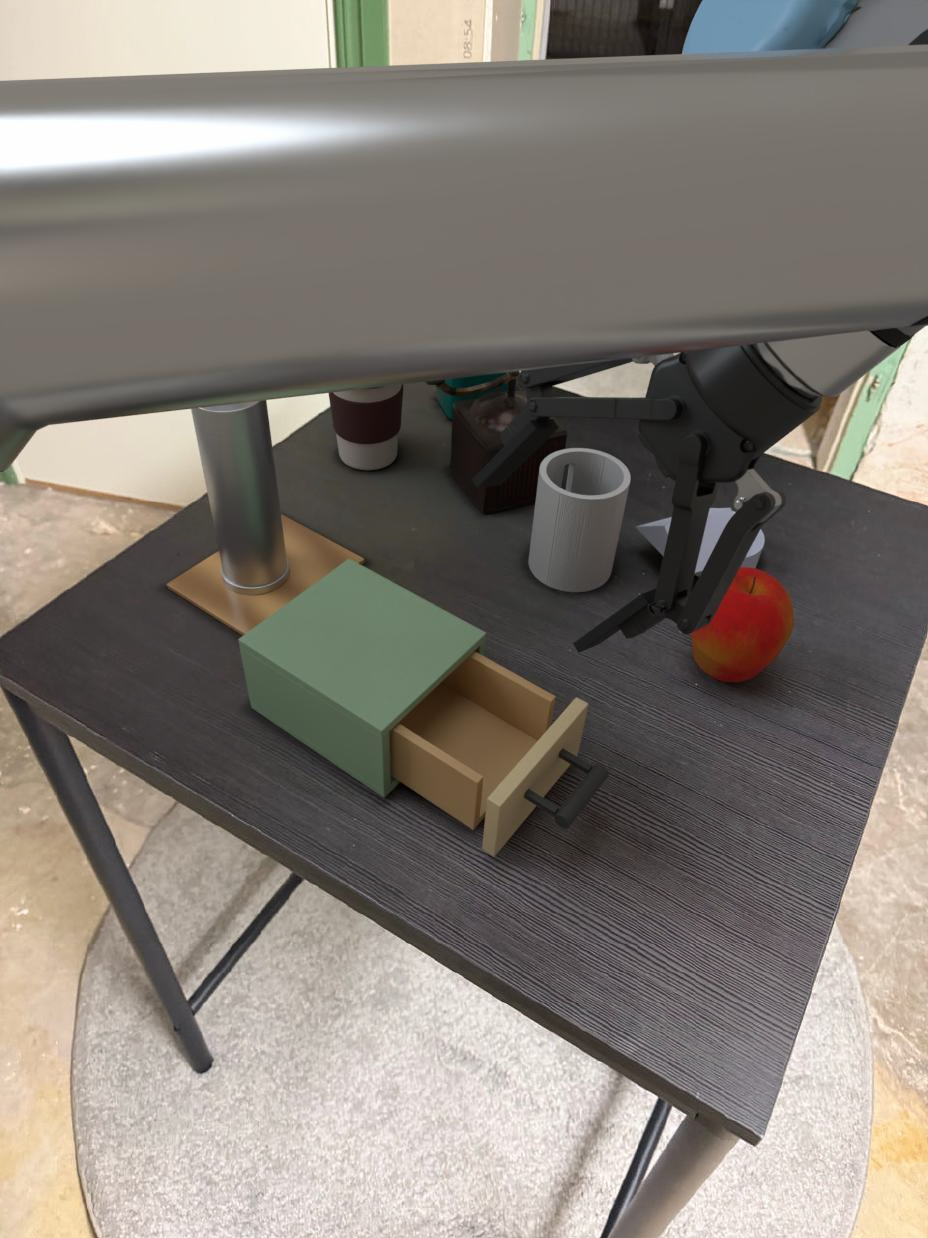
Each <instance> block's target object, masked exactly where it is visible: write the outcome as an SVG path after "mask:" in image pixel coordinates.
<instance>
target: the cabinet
mask: <svg viewBox="0 0 928 1238" xmlns="http://www.w3.org/2000/svg"><path fill="white" fill-rule="evenodd" d="M486 640H487V632H486V631H483V629H480V628H478V627H476V626H474V625H473V624H471V623H469V622H467V621H465V620H464V619H461V618H460V617H458V616H456V615H455V614H452V613H451V612H449V611H446V610H445V609H443V608H441V607H439V606H437V605H436V604H435V603H432V602H430V601H428V600H427V599H425V598H423V597H421V596H419V595H417V593H416V594H415V593H414V592H412V591H410V590H409V589H406V588H404V587H402V586H401V585H399V584H397V583H395V582H393V581H392V580H390V579H388V578H386V577H385V576H382V575H381V574H379V573H377V572H375V571H373V570H371V569H370V568H368V567H366V566H364V565H363V564H362V565H360V564H359V563H357V562H355V561H353V560H351V559H347V560H346V561H345V562H343V563H342V564H341V565H339V566H338V567H337V568H335V569H334V570H332V571H331V572H330V573H328V574H327V575H326V576H324V577H323V578H321V579H320V580H319V581H317V582H316V583H315V584H313V585H312V586H310V587H309V588H308V589H306V590H305V591H304V592H302V593H301V594H300V595H298V596H297V597H295V598H294V599H293V600H291V601H290V602H289V603H287V604H286V605H284V606H283V607H282V608H280V609H279V610H278V611H276V612H275V613H273V614H272V615H271V616H269V617H268V618H267V619H265V620H264V621H263V622H261V623H260V624H258V625H257V626H256V627H254V628H253V629H252V630H250V631H249V632H247V633H246V634H245V635H243V636H242V635H241V636H240V637H239V638H238V639H237V642H238V647H239V653H240V656H241V662H242V663H241V664H242V667H243V672H244V678H245V682H246V683H245V684H246V689H247V694H248V698H249V703H250V707H251V709H253V710H254V711H255V712H257V713H258V714H260V715H261V716H263V717H264V718H265V719H267V720H268V721H270V722H272V723H273V724H274V725H276V726H277V727H279V728H280V729H281V730H283V731H284V732H286V733H288V734H289V735H291V736H292V737H293V738H295V739H296V740H297V741H299V742H301V743H302V744H304V745H305V746H306V747H308V748H310V749H311V750H313V751H314V752H316V753H317V754H318V755H320V756H321V757H323V758H325V760H328V761H329V762H330V763H332V764H333V765H335V766H336V767H337V768H339V769H341V770H342V771H344V772H345V773H347V774H348V775H349V776H351V777H352V778H354V779H355V780H356V781H358V782H360V783H361V784H363V785H364V786H366V787H367V788H368V789H370V790H372V791H373V792H374V793H375V794H377V795H379V796H381V797H382V798H383V799H384V798H386V797H387V796H388V795H389V794H390V793H391V792H392V791H393V790H394V789H395V788H396V787H397V786H398V785H399V784H401V782H400V781H399V780H397V779H396V778H394V777H392V776H391V774H390V738H389V731H390V730H391V729H392V728H393V727H394V726H395V725H397V724H398V723H399V722H400V721H401V720H402V719H403V718H404V717H405V716H406V715H407V714H408V713H409V712H410V711H411V710H412V709H413V708H415V707H416V706H417V705H418V704H419V703H420V702H421V701H422V700H423V699H424V698H425V697H426V696H427V695H428V694H429V693H430V692H431V691H432V690H434V689H435V688H436V687H437V686H438V685H439V684H440V683H441V682H442V681H443V680H444V679H445V678H446V677H447V676H448V675H449V674H450V673H452V672H453V671H454V670H455V669H456V668H457V667H458V666H459V665H460V664H461V663H462V662H463V661H464V660H465V659H466V658H467V657H468V656H470V655H471V654H472V653H473V652H474V651H475V652H477V653H479V654H481V655H483V656H484V657H486V656H485V655H486V644H487V643H486V642H487V641H486Z"/></svg>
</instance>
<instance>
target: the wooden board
mask: <svg viewBox="0 0 928 1238" xmlns="http://www.w3.org/2000/svg"><path fill="white" fill-rule="evenodd" d="M281 518H282V526H283V534H284V542H285V550H286V556H287V558H288V560H289V566H290V574H289V577H288V579H287V580H286V582H285V583H284V584H283V585H282V586H280V587H279V588H277V589H276V590H274V591H271V592H268V593H265V594H260V595H244V594H240V593H236V592H234V591H232V590H230V589H229V588H228V587H227V586H226V585H225V584H224V582H223V580H222V575H221V566H222V564H221V559H220V554H219V550H218V551H216V552H214V553H213V554H211V555H210V556H208V557H207V558H205V559H203V560H202V561H200V562H198V563H197V564H195V565H194V566H192V567H191V568H189V569H188V570H186V571H185V572H183V573H181V574H180V575H178V576H177V577H174V579H172V580H170V581H169V582H167V583H166V587H167V589H169V590H170V591H172V592H173V593H175V594H176V595H177V596H179V597H181V598H183V599H184V600H186V601H187V602H188V603H190V604H191V605H193V606H195V607H196V608H198V609H200V610H201V611H203V612H204V613H206V614H208V615H209V616H211V617H212V618H214V619H215V620H217V621H218V622H220V623H221V624H223V625H225V626H226V627H228V628H230V629H231V630H233V631H234V632H236V633H238V634H239V635H240V636H241V637H242V636H243V635H245V634H246V633H247V632H249V631H250V630H252V629H253V628H254V627H256V626H257V625H258V624H260V623H261V622H263V621H264V620H265V619H267V618H268V617H269V616H271V615H272V614H273V613H275V612H276V611H278V610H279V609H280V608H282V607H283V606H284V605H286V604H287V603H289V602H290V601H291V600H293V599H294V598H295V597H297V596H298V595H300V594H301V593H302V592H304V591H305V590H306V589H308V588H309V587H310V586H312V585H313V584H315V583H316V582H317V581H319V580H320V579H321V578H323V577H324V576H326V575H327V574H328V573H330V572H331V571H332V570H334V569H335V568H337V567H338V566H339V565H341V564H342V563H343V562H345V561H346V560H347V559H351V560H353V561H355V562H357V563H359V564H360V565H362V566H363V565H364V564H365V563H366V562H365V561H366V560H365V558H364V557H362V556H360V555H358V554H357V553H355V552H353V551H351V550H349V549H347V548H346V547H344V546H341V545H340V544H338V543H336V542H334V541H332V540H330V539H329V538H327V537H325V536H323V535H321V534H320V533H318V532H316V531H313V530H312V529H310V528H308V527H306V526H304V525H302V524H301V523H299V522H298V521H295V520H293V519H291V518H289V517H288V516H286V515H284V514H282V513H281Z"/></svg>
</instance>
